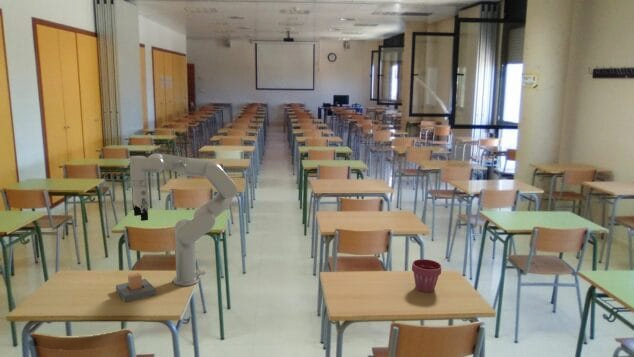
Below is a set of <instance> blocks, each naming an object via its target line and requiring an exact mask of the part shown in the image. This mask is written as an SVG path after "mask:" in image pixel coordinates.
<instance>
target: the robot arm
mask: <svg viewBox="0 0 634 357" xmlns="http://www.w3.org/2000/svg"><path fill="white" fill-rule="evenodd" d="M129 170H130V172H129V173H130V175H129V176H130V186H131V187H132V203H133V216H134V217H137V216H140V221H141V222H145V221H149V207H150V196H149V190H148V187H149V179H148V178H149V177H148V176H149V175H148V173H160V172H162V171H163V170H167V171H168V170H169V171H173V172H176V173H179V174H180V175H183V176H187V177H198V178H206V179H207V180H208V182H210V184H211V185H212V186H213V188H215V190H216V191H217V192H216V194H215V195H214V196H213V197H212V198H211V199H210V200H209V201H207V202H206V203H204V204H203V205H202V206H200V207H199V208H197V209H196V210H195V211H194V213H193V218H192V219H191V220H190V219H187V218H182V219H180V220H178V221H177V222H176V224H175V226H174V231H173V232H174V243H175V271H176V272H175V274H176V276H175V277H174V278H173V279H172V281H173V284H175V285H176V286H180V287H187V286H189V287H190V286H192V285H196V284H198V282H199V281H200V276H205V275H206V271H205V270H202V271H201V270H200V269H199V270H197V264H196V263H197V262H196V261H197V260H196V258H197V256H196V241H198V240H200V239H201V238H202V237H203V236H205V235H206V234H207V233H209V232H210V231H211V230H212V229H213V228H214V226H215V225H216V218H218V217H219V216H220V215H221V214H222V213H223V212H225V211H227V209H228V208H229V207H230V205H231V204H232V202H233V198H235V197H236V196H237V194H238V186H237V184H236V182H235V181H234V180H233V179H232V178H231V177H230V176H229V175H228V174H227V172H225V170H224V169H223V168H222V167H221V165H220V164H219V163H218V162H217V161H215V160H210V159H208V160H207V159H201V158H192V157H184V156H178V155H174V154H167V153H152V154H150V155H149V156H148V157H147V156H144V155H133V156H131V157H130V158H129Z"/></svg>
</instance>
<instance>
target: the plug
mask: <svg viewBox="0 0 634 357" xmlns="http://www.w3.org/2000/svg"><path fill="white" fill-rule="evenodd" d="M127 279H128V280H127V281H128V282H127V283H128V285H129V290H130V291H132V290H136V289H141V288H142V279H143V277H142V274H141V273H140V272H135V273H134V272H133V273H131V274H128V275H127Z"/></svg>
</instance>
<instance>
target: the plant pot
mask: <svg viewBox="0 0 634 357" xmlns="http://www.w3.org/2000/svg"><path fill="white" fill-rule="evenodd" d="M411 271H412V272H413V277H414V284H415V285H414V286H415V289H416V290H418V291H420V292H422V293H424V292H425V293H431V292H434V291H435V288H436V285H437V284H438V283H437V282H438V280H439V276H440V275H441V274H442V264H441V263H440V262H438V261H435V260H433V259H426V258H425V259H424V258H421V259H415V260H413V262H412V265H411Z"/></svg>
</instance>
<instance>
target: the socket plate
mask: <svg viewBox="0 0 634 357" xmlns="http://www.w3.org/2000/svg"><path fill="white" fill-rule="evenodd" d="M156 290H157V289H156V288H155V287H154V286H153V285H152V283H150V282H149V281H148V280H147V279H146V278H142V288H141V289H136V290H132V291H130V290H129V285H128V282H125V283H122V284H116V285H115V291H116V293H117V294H118V295H119V297H121V299H122V300H123V301H124V302H125V303H127V302H131V301H135V300H140V299H143V298H147V297H152V296H156V295H157V294H156V293H157V291H156Z"/></svg>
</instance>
